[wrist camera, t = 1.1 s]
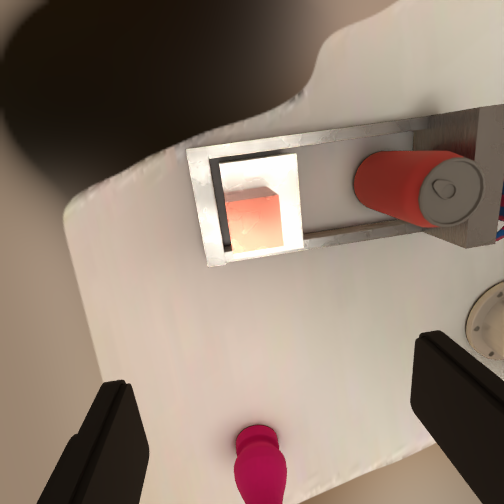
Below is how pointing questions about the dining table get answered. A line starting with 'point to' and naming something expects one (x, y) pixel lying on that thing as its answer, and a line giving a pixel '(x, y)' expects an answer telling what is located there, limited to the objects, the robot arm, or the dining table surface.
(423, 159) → the beer can
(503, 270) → the dining table surface
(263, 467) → the pepper mill
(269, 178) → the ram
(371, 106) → the dining table surface
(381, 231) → the press frame
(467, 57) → the dining table surface
